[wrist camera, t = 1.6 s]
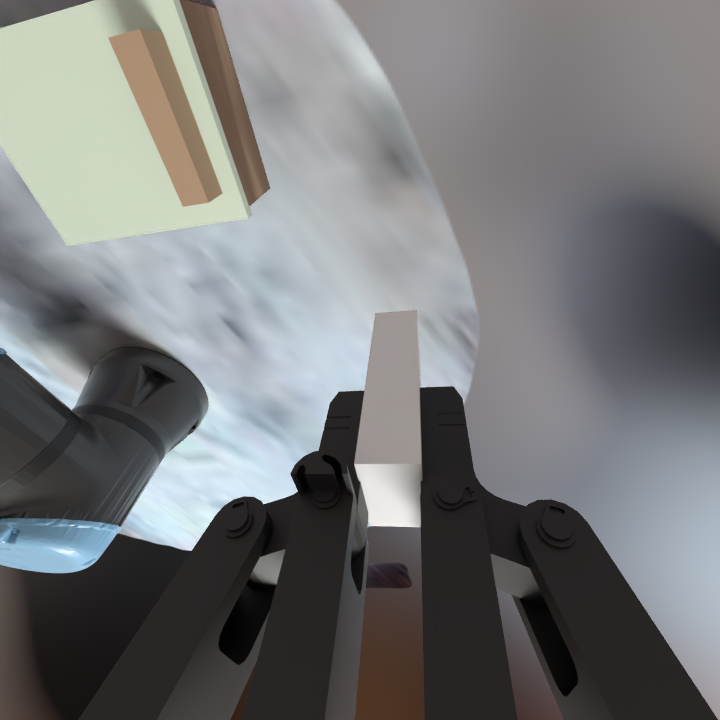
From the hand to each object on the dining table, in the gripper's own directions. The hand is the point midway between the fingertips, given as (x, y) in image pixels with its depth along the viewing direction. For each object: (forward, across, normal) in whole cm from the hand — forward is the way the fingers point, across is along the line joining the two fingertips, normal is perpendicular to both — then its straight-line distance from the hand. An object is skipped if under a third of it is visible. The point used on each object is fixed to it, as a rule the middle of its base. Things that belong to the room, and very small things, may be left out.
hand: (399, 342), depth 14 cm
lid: (+17, -20, +7) cm, 27 cm away
